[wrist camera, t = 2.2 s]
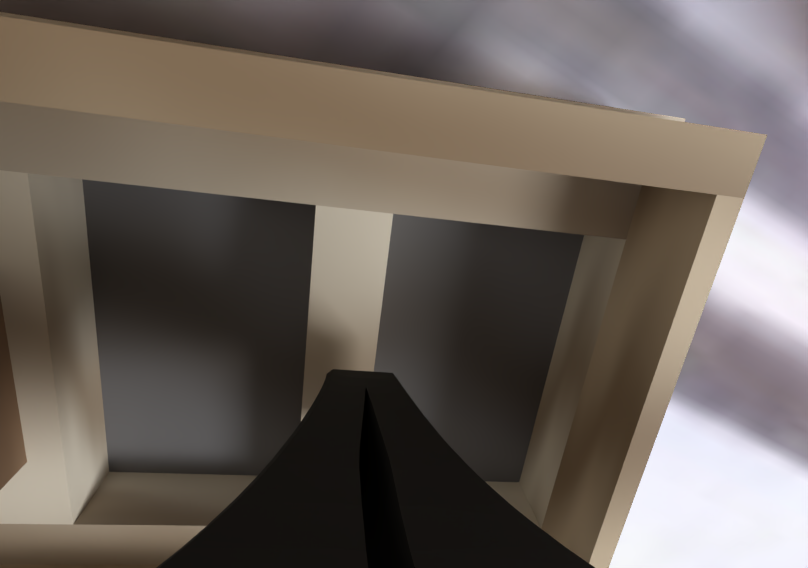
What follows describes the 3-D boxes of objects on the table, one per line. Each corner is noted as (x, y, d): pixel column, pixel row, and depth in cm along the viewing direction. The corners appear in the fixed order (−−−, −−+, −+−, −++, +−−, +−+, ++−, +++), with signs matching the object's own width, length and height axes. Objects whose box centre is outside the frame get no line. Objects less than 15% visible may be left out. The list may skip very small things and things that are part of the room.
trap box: (514, 536, 15) (568, 675, 11) (-393, 530, 12) (-751, 727, 8) (628, 119, 11) (773, 118, 7) (-734, -89, 7) (-1857, -308, 4)
